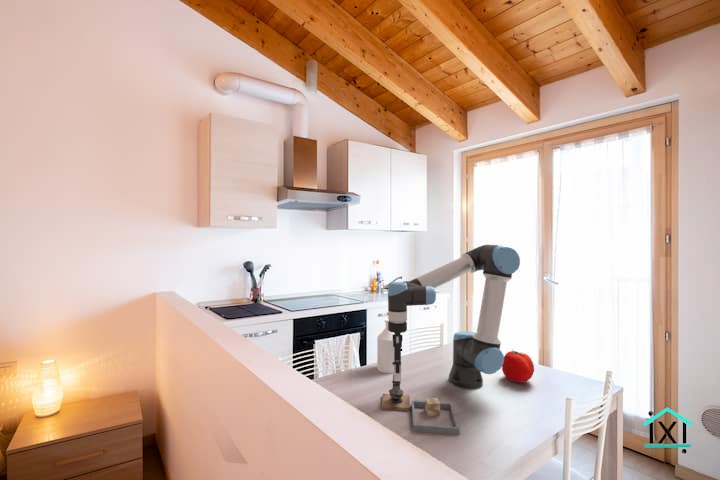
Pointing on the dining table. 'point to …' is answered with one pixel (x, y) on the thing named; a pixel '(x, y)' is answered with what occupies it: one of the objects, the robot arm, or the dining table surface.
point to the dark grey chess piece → (396, 392)
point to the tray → (431, 427)
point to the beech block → (432, 406)
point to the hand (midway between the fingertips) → (397, 373)
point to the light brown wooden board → (392, 406)
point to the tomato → (517, 367)
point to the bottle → (385, 350)
